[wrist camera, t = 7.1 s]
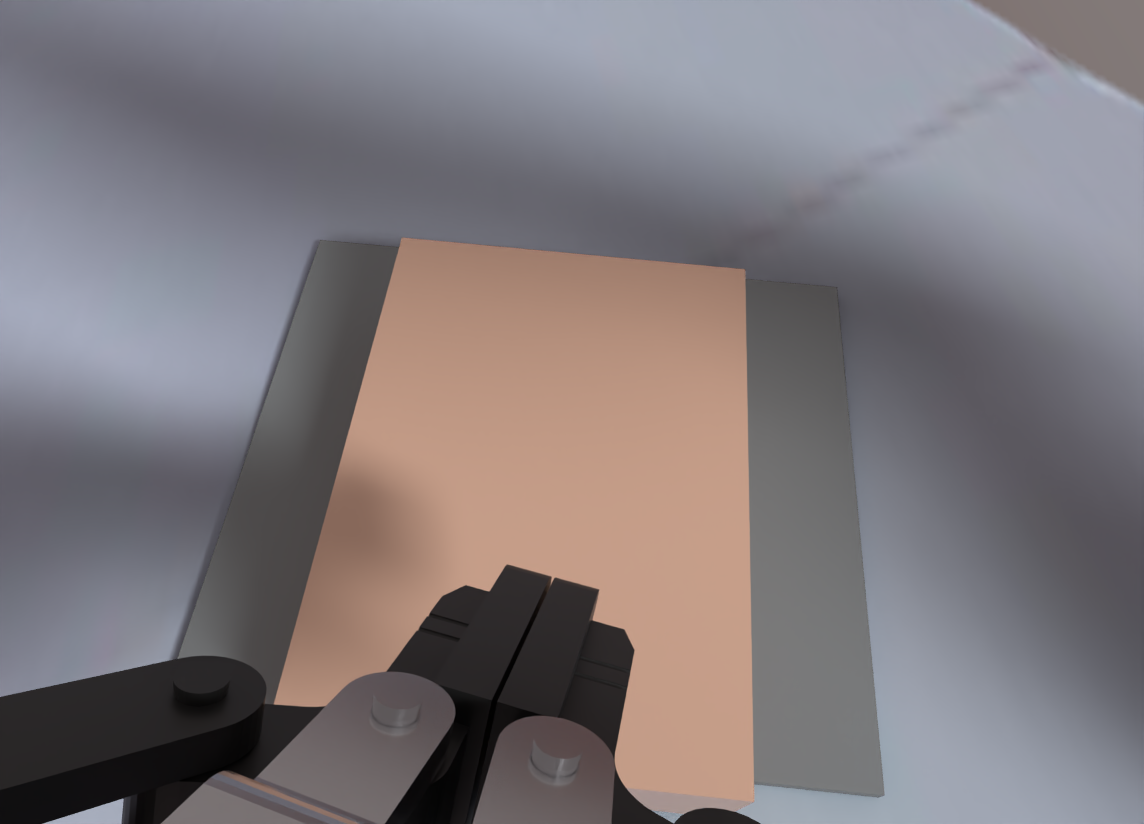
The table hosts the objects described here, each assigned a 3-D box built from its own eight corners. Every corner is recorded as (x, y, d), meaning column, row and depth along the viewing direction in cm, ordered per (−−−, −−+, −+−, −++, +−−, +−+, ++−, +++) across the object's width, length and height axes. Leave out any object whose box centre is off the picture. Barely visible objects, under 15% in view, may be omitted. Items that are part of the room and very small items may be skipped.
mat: (833, 294, 29) (836, 287, 28) (878, 797, 20) (884, 795, 20) (322, 247, 29) (320, 240, 29) (163, 721, 21) (156, 718, 20)
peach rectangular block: (720, 818, 20) (721, 344, 27) (754, 802, 16) (745, 269, 24) (306, 773, 20) (418, 315, 27) (261, 747, 17) (401, 237, 24)
